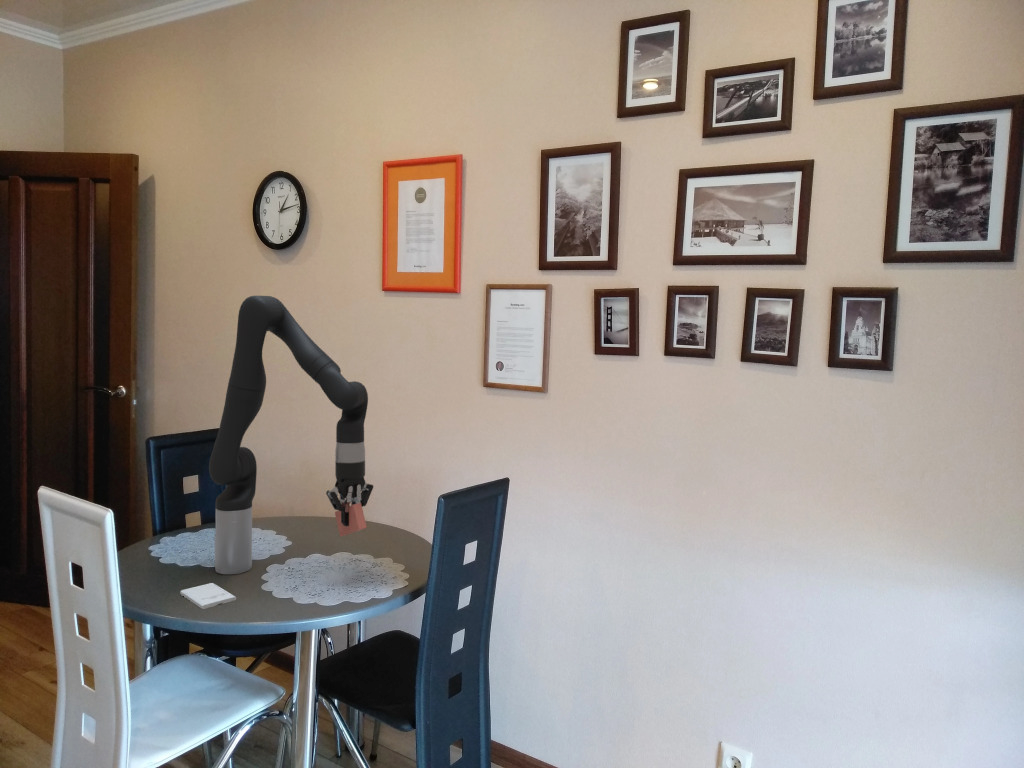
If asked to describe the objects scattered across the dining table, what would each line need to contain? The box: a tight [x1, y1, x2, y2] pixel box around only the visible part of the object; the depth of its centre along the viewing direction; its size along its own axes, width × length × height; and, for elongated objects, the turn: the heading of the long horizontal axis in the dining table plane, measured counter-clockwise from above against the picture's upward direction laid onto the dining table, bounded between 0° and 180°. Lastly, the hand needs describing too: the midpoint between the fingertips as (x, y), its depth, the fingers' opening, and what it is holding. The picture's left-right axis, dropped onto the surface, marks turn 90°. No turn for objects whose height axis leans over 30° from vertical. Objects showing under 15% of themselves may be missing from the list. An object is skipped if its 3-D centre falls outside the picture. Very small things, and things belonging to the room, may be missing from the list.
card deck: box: [334, 503, 368, 537], centre depth 179 cm, size 9×2×6 cm, turn 48°
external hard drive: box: [179, 582, 237, 610], centre depth 168 cm, size 2×8×12 cm
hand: (350, 524), depth 179 cm, fingers closed on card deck, 2 cm apart
